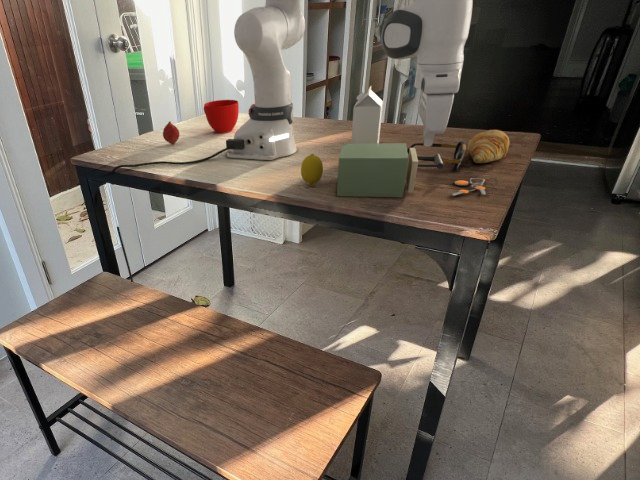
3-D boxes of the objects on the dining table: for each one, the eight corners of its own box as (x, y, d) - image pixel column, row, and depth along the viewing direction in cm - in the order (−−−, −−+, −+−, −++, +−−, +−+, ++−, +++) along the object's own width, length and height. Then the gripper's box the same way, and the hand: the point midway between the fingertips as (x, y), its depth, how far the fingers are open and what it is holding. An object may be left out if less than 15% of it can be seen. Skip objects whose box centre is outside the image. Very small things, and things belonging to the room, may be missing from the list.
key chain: (456, 178, 108) (457, 175, 108) (489, 181, 105) (490, 177, 105) (448, 196, 99) (449, 192, 99) (484, 200, 96) (485, 196, 96)
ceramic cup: (219, 124, 178) (216, 97, 173) (247, 129, 168) (245, 101, 162) (194, 131, 172) (190, 104, 166) (221, 136, 161) (219, 107, 155)
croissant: (485, 180, 115) (508, 155, 109) (453, 159, 117) (474, 133, 111) (502, 156, 128) (523, 133, 122) (473, 137, 130) (492, 113, 124)
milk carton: (377, 156, 128) (384, 85, 118) (375, 163, 123) (382, 90, 112) (352, 155, 130) (357, 86, 120) (349, 162, 125) (354, 90, 114)
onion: (161, 146, 156) (157, 123, 151) (169, 142, 160) (166, 119, 155) (175, 147, 154) (172, 123, 149) (183, 142, 158) (180, 119, 153)
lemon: (321, 189, 110) (322, 157, 105) (299, 189, 111) (299, 157, 106) (322, 181, 114) (324, 150, 110) (301, 181, 115) (301, 150, 111)
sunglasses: (404, 155, 127) (407, 137, 124) (462, 157, 122) (466, 139, 119) (399, 170, 117) (401, 151, 114) (461, 174, 111) (466, 154, 108)
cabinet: (400, 179, 111) (405, 143, 106) (402, 197, 101) (408, 158, 96) (340, 179, 115) (342, 143, 110) (336, 195, 105) (338, 158, 100)
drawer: (435, 177, 108) (440, 147, 104) (439, 193, 99) (446, 161, 95) (353, 176, 113) (355, 147, 109) (351, 191, 104) (353, 161, 100)
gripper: (418, 71, 101) (409, 133, 108) (425, 86, 84) (415, 158, 92) (447, 69, 99) (437, 133, 107) (461, 84, 83) (447, 157, 91)
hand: (427, 144), depth 99 cm, fingers closed
